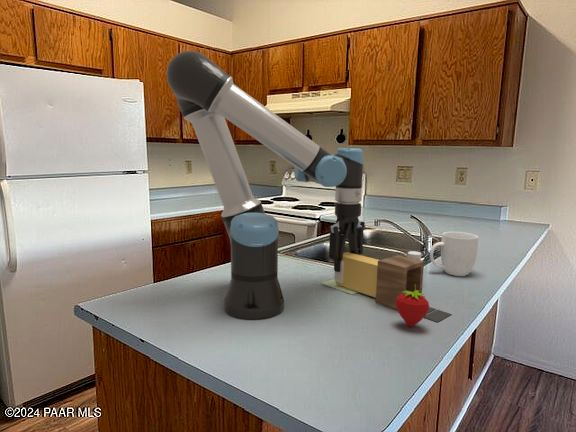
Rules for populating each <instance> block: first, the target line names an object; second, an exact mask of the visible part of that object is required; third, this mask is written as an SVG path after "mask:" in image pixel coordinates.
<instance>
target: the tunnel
mask: <svg viewBox="0 0 576 432" xmlns="http://www.w3.org/2000/svg"><path fill="white" fill-rule="evenodd" d="M378 260H379V261H378V267H377V287H376V298H375V304H378V305H381V306H384V307H386V308H389V309H393V310H395V311H397V308H396V304H395V301H396V298H397V297H398V296H399V295H400V294H406V293H403V292H402V291H405V290H406V291H410V292H413V293H414V291H415V284H416V291H417V290H419V291H418V292H419V293H421V294H423V293H422V292H423V282H424V281H423V280H424V267H425V266H424V265H425V261H424V260H422V261H420V260H416V259H412V258H408V256H402V255H398V254H397V255H393V256H388V257H386V258H383V259H378Z"/></svg>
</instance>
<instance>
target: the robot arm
mask: <svg viewBox="0 0 576 432" xmlns="http://www.w3.org/2000/svg"><path fill="white" fill-rule="evenodd" d="M166 81H167V84H168V87H169V88H170V90H171V91H172V93H173V94H174V97H175V99H176V102H177V105H178V107H179V110H180V112H181V115H182V118H183V119H184V120H185V121H187V122H188V123H191V124H192V128H193V130H194V132H195V136H196V138H197V141H198V143H199V145H200V148H201V152H202V153H203V156H204V159H205V161H206V164H207V166H208V169H209V172H210V175H211V177H212V180H213V183H214V185H215V187H216V188H215V189H216V191H217V193H218V196H219V199H220V200H221V203H222V205H223V210H222V212H221V216H220V217H221V218H222V222H223V224H224V227H225V229H226V233H227V234H228V238H229V242H230V282H229V285H228V287H227V292H226V294H225V297H224V302H223V303H224V307H223V308H224V311H225V312H226V313H227V314H228V315H230V316H232V317H234V318H239V319H244V320H261V319H268V318H272V317H275V316H278V315H279V314H281V313H282V312H283V311H284V309H285V297H284V295H283V291H282V288H281V285H280V282H279V279H278V278H279V277H278V273H279V272H278V269H279V268H278V267H279V266H278V265H279V262H278V261H279V257H278V256H279V255H278V254H279V251H278V250H279V245H278V244H279V233H280V232H279V226H278V225H279V224H278V220H277V219H276V217H274V216H273V215H270V214H267V213H266V212H265V210H264V207H263V203H262V201H261V200H260V199H258V198H255V196H253V192H252V189H251V187H250V183H249V181H248V178H247V175H246V173H245V170H244V168H243V165H242V162H241V159H240V156H239V154H238V151H237V148H236V144H235V143H234V140H233V137H232V134H231V132H230V129H229V127H228V123H227V121H226V120H228V121H229V122H230V123H232V124H233V125H234V126H236V127H237V128H239V129H241V130H242V131H244V133H246V134H248V135H249V136H250V137H252V138H253V139H255V140H256V141H258V142H259V143H260V144H262V145H264V146H265V147H266V148H268V149H269V150H271V151H272V152H274V153H275V154H277V156H278V157H281V158H282V159H284V160H285V161H286V162H288V163H289V164H291V165H293V171H294V172H293V174H294V177H295V180H296V181H297V182H301V183H302V182H303V183H315V184H317V185H318V184H319V185H321V186H323V187H325V188H334V187H335V193H334V194H335V195H334V200H335V201H336V202H335V203H334V215H335V216H336V220H335V223H334V224H333V225H330V224H329V225H328V231H329V245H328V246H329V248H328V250H329V251H328V258H329V259H330V260H333V262H334V263H333V271H334V279H335V281H336V282H339V283H343V274H344V261H342V257H343V253H345V246H346V242H347V241H348V250H349V252H350V253H353V254H357V255H362V254H363V252H364V251H363V250H364V229H365V226H366V225H365V224H366V222H365V221H361V220H359V218H360V217H361V215H362V203H360V202H362V191H363V175H364V166H365V165H364V153H363V150H362V149H361V148H357V147H356V148H353V147H352V148H348V147H344V148H343V147H339V148H337V149H336V153H335V154H331V153H330V152H328V151H327V150H325V149H324V148H322V147H321V146H320V145H319V144H317V142H314V141H313V140H312V139H310V138H309V137H308V136H307V135H305V134H303V133H302V132H300V131H299V130H298V129H296V128H295V127H294V126H293V125H291V124H289V122H287V121H286V120H284V119H283V118H281V117H280V116H279V115H277V114H276V113H274V112H273V111H272V110H270V109H269V108H267V107H266V106H265V105H264V104H262V103H261V102H260V101H258V100H257V99H255V98H254V97H252V96H251V95H250V94H249V93H247V92H245V91H244V90H242V88H240V87H239V86H237V85H236V84H235V83H234V80H233V76H231V75H230V74H228V73H227V72H226V71H225V70H223V69H222V68H221V67H219V66H218V65H217V63H215V62H213V60H211V59H210V58H209V57H208V56H206V55H205V54H203V53H202V52H199V51H195V50H185V51H181V52H179V53H177V54H176V55H174V57H173V58H172V59H170V61H169V63H168V65H167V69H166ZM338 256H339V257H338Z"/></svg>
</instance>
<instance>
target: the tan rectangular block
mask: <svg viewBox="0 0 576 432" xmlns="http://www.w3.org/2000/svg"><path fill="white" fill-rule="evenodd" d="M338 257H339V256H338ZM379 260H380V259H377V258H372V257H368V256H366V255H362V254H359V255H357V254H353V253H350V251H346V252H343V257H342V261H344V274H343V283H339V282H336V284H337V285H340V286H343V287H346V288H349V289H351V290H354V291H357V292H358V293H361V294H364V295H366V296H370V297H373V298H375V299H376V287H377V267H378V261H379Z"/></svg>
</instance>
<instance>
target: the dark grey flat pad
mask: <svg viewBox="0 0 576 432" xmlns="http://www.w3.org/2000/svg"><path fill="white" fill-rule="evenodd" d="M451 316H452V313H449V312H446V311H443V310H440V309H436V308H434V307H431V306H429V310H428V312H427V314H426V316H425V317H424V318H423V319H427V320H428V321H432V322H435V323H439V322H442V321H444V320H446V319H447V318H448V317H451Z"/></svg>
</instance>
